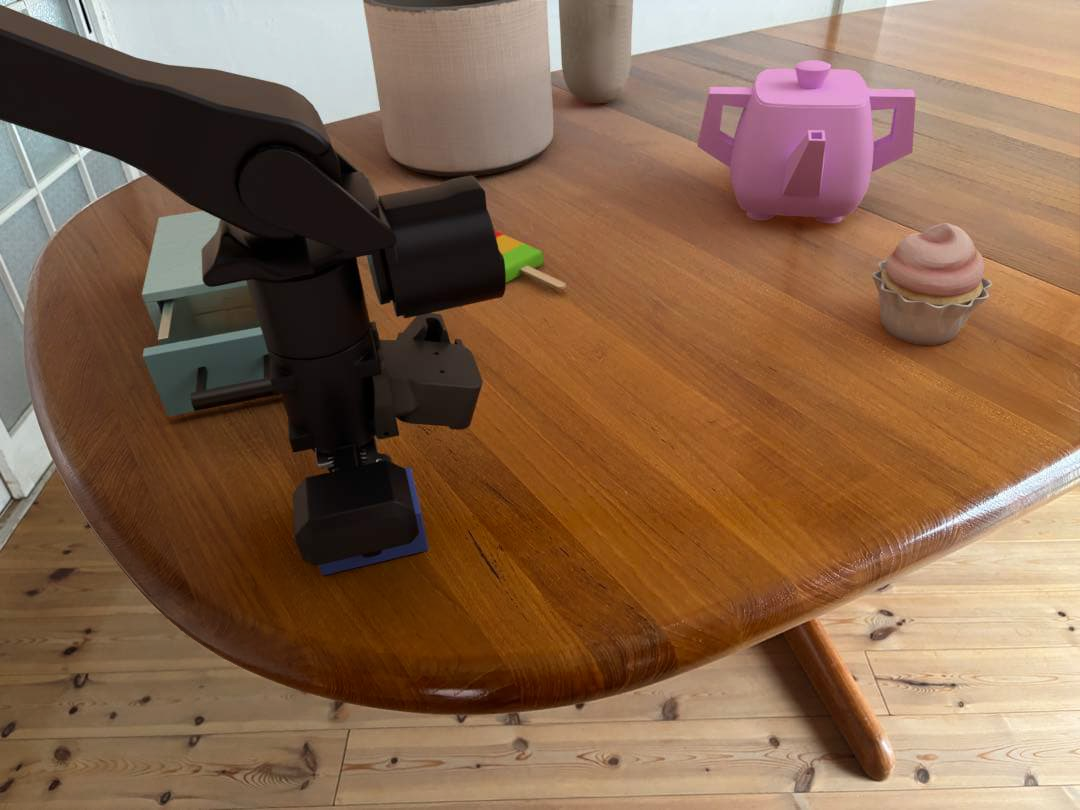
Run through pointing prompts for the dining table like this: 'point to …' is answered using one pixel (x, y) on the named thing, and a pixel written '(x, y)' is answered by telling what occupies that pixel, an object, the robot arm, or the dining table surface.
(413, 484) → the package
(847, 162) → the teapot
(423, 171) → the planter
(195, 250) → the cabinet
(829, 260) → the dining table surface
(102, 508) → the dining table surface
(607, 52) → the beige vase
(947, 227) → the cupcake
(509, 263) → the popsicle
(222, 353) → the drawer
